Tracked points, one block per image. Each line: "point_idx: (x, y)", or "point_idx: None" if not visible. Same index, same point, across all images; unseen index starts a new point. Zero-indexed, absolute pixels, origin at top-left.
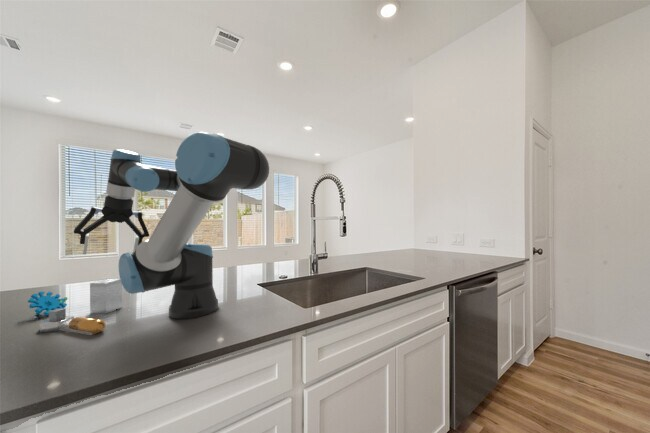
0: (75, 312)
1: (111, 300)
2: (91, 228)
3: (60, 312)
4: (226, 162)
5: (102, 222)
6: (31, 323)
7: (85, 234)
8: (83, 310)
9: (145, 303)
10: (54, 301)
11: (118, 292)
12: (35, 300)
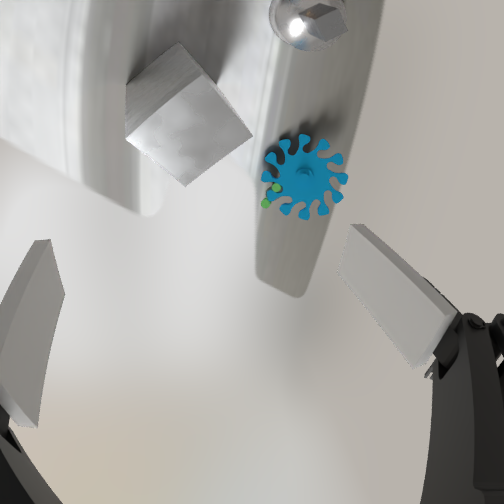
0: None
1: (164, 66)
2: (485, 382)
3: (323, 11)
4: None
5: (481, 487)
6: (329, 103)
7: (466, 324)
8: None
9: (52, 91)
10: (292, 183)
11: (139, 98)
12: (335, 176)
